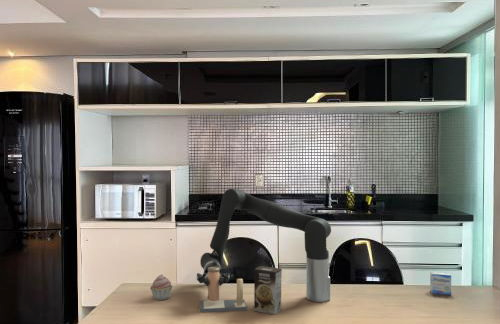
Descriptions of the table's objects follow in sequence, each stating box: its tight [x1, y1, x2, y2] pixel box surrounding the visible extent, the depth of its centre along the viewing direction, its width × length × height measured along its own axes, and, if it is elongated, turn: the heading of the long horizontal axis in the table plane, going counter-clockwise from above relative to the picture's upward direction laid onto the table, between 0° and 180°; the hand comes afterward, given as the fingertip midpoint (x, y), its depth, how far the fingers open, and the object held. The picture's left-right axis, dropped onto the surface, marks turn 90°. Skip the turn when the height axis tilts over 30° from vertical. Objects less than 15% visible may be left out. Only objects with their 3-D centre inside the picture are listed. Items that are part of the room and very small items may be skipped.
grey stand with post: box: [199, 278, 248, 313], centre depth 157 cm, size 18×9×11 cm, turn 97°
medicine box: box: [429, 271, 452, 296], centre depth 175 cm, size 8×4×9 cm, turn 73°
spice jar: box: [207, 267, 220, 301], centre depth 156 cm, size 5×5×12 cm
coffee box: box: [253, 265, 283, 315], centre depth 153 cm, size 9×6×16 cm
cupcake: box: [149, 274, 173, 301], centre depth 167 cm, size 9×9×10 cm
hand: (214, 283), depth 154 cm, fingers closed on spice jar, 4 cm apart
